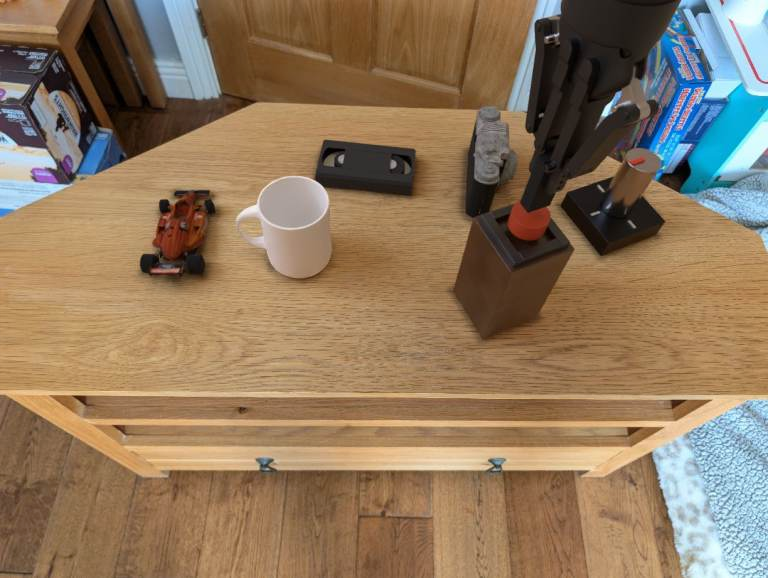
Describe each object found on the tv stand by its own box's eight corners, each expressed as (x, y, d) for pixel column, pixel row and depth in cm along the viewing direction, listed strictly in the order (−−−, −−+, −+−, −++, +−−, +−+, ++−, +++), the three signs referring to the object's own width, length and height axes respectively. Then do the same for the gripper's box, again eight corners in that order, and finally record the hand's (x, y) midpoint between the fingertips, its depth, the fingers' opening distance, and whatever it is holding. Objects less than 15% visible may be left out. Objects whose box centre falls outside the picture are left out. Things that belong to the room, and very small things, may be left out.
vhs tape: (414, 158, 87) (416, 148, 85) (411, 196, 82) (412, 186, 81) (324, 148, 87) (323, 139, 85) (315, 186, 83) (314, 176, 81)
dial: (618, 191, 81) (647, 142, 73) (637, 212, 79) (669, 164, 71) (594, 199, 80) (620, 151, 72) (612, 222, 78) (642, 174, 70)
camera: (509, 223, 80) (528, 174, 72) (463, 218, 81) (475, 168, 72) (508, 152, 88) (525, 100, 80) (466, 147, 89) (478, 95, 80)
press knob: (552, 233, 59) (558, 221, 57) (520, 245, 58) (525, 233, 56) (532, 207, 61) (537, 194, 59) (500, 217, 60) (504, 205, 58)
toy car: (221, 193, 81) (214, 171, 77) (201, 288, 72) (193, 269, 68) (166, 191, 81) (157, 170, 77) (140, 287, 72) (129, 267, 68)
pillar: (536, 318, 72) (577, 244, 59) (482, 340, 70) (513, 268, 57) (504, 271, 76) (536, 191, 63) (452, 290, 74) (474, 212, 60)
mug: (248, 226, 78) (235, 171, 69) (334, 231, 78) (332, 177, 69) (238, 277, 73) (221, 226, 64) (329, 282, 74) (325, 231, 65)
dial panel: (656, 234, 81) (666, 220, 78) (600, 256, 78) (609, 242, 75) (614, 187, 85) (622, 172, 83) (560, 205, 83) (567, 191, 80)
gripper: (532, -73, 39) (471, 170, 59) (652, 32, 33) (539, 264, 52) (618, -89, 41) (531, 151, 61) (747, 7, 35) (603, 240, 54)
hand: (535, 203), depth 56 cm, fingers closed
